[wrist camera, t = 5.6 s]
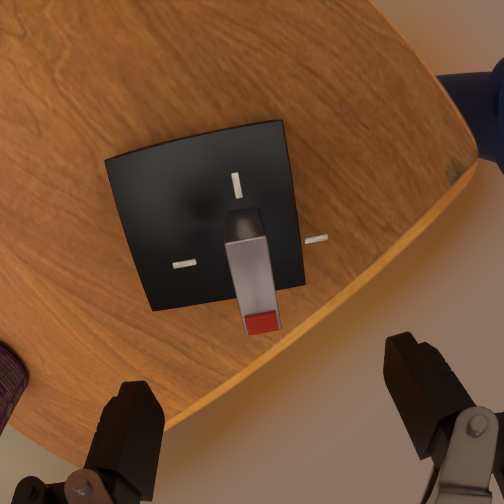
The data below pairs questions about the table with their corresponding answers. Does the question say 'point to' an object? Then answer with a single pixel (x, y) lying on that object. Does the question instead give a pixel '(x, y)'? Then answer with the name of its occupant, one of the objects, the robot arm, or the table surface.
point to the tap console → (206, 210)
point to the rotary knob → (251, 271)
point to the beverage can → (10, 385)
